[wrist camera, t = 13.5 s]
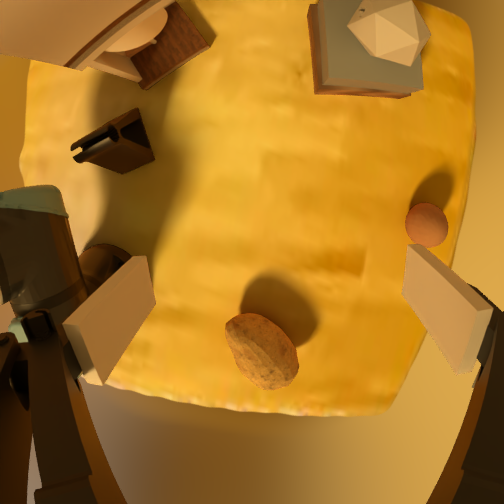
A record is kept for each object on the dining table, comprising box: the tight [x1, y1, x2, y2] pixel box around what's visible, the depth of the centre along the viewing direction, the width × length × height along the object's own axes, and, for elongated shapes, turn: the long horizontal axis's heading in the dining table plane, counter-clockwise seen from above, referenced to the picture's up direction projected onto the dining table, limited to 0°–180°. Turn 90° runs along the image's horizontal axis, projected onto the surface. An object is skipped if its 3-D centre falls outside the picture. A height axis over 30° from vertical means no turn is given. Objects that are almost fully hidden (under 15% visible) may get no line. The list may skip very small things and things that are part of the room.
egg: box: [405, 203, 448, 248], centre depth 40 cm, size 6×6×8 cm
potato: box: [225, 313, 299, 390], centre depth 49 cm, size 10×14×10 cm
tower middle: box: [317, 0, 423, 94], centre depth 30 cm, size 12×12×5 cm
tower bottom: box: [307, 4, 411, 99], centre depth 35 cm, size 13×13×5 cm
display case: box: [0, 0, 210, 90], centre depth 22 cm, size 11×11×35 cm
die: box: [347, 0, 431, 67], centre depth 24 cm, size 8×9×10 cm
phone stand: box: [71, 108, 155, 174], centre depth 38 cm, size 9×6×12 cm, turn 18°
